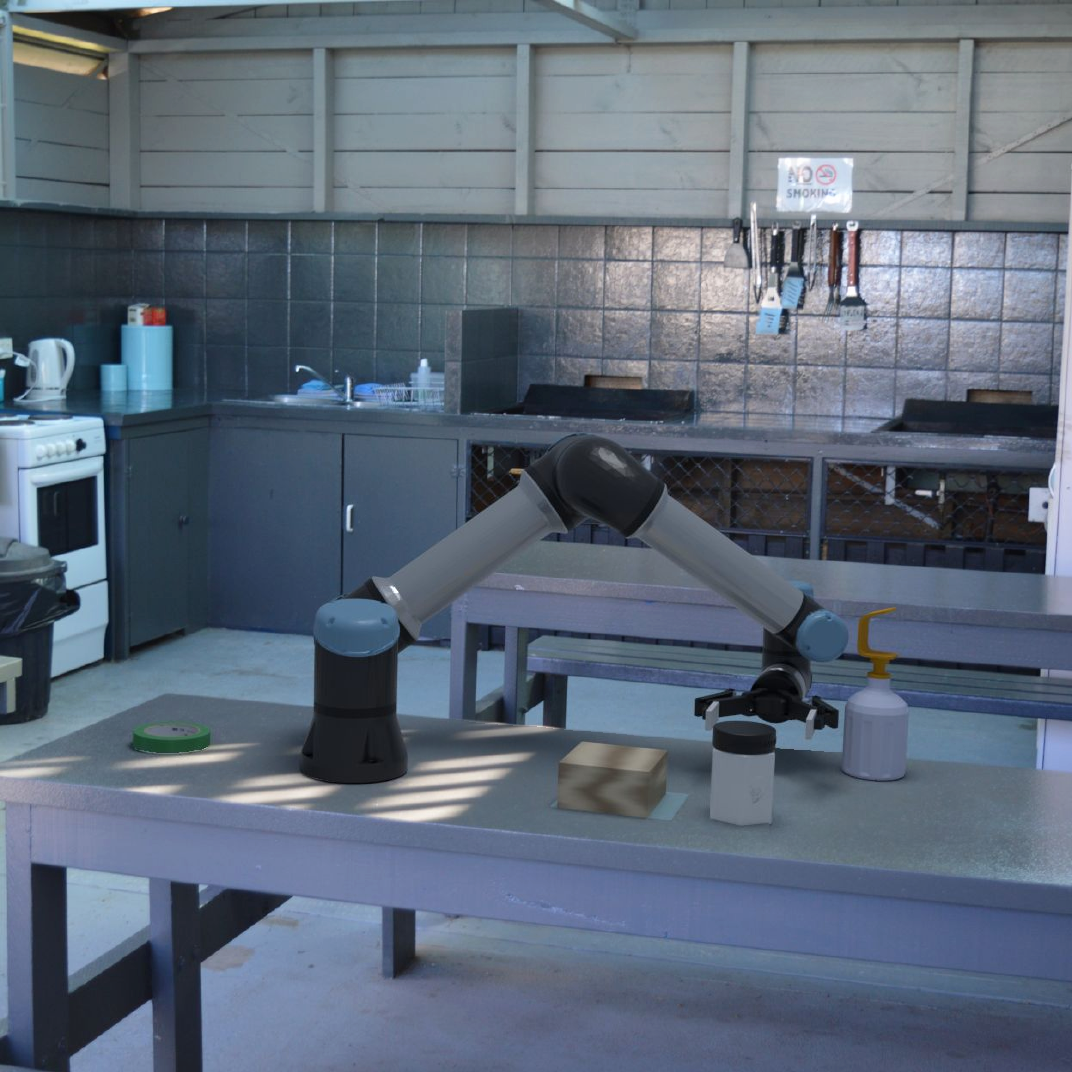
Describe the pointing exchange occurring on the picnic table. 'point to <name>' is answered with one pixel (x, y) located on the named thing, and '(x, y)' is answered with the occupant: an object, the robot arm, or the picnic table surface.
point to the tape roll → (171, 737)
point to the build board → (660, 806)
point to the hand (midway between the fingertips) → (757, 725)
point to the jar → (742, 772)
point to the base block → (612, 779)
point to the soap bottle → (875, 719)
